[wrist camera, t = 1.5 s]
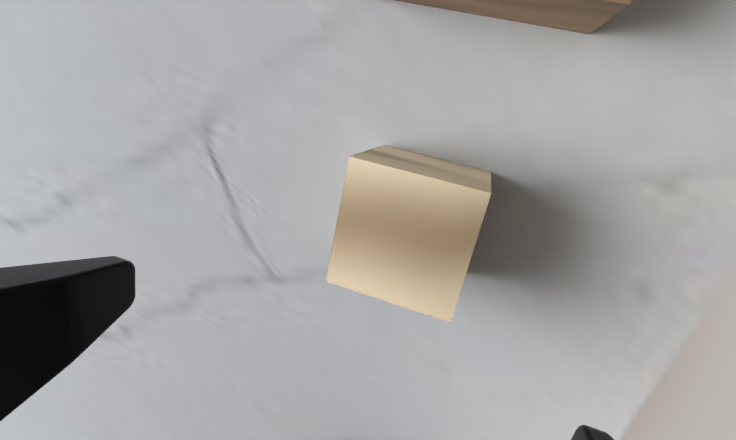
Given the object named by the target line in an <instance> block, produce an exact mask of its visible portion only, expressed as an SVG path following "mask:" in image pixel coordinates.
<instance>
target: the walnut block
mask: <svg viewBox="0 0 736 440" xmlns="http://www.w3.org/2000/svg"><path fill="white" fill-rule="evenodd" d="M396 1H402V2H408V3H413V4H419V5H425V6H430V7H436V8H442V9H448V10H453V11H459V12H465V13H470V14H476V15H482V16H488V17H493V18H499V19H505V20H510V21H516V22H522V23H528V24H533V25H539V26H545V27H550V28H556V29H562V30H568V31H573V32H579V33H585V34H591V33H592V32H594V31H595V30H596V29H598V28H599V27H600V26H602V25H603V24H605V23H606V22H607V21H609V20H610V19H611V18H613V17H614V16H615V15H617V14H618V13H619V12H621V11H622V10H624V9H625V8H626V7H628V6H629V5H630V4H631V1H632V0H396Z"/></svg>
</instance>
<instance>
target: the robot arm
mask: <svg viewBox="0 0 736 440" xmlns="http://www.w3.org/2000/svg"><path fill="white" fill-rule="evenodd" d="M134 298H135V267H134V265H133V263H132V262H130V261H128V260H125V259H122V258H119V257H115V256H110V257H100V258H91V259H81V260H71V261H62V262H52V263H43V264H33V265H23V266H14V267H4V268H0V421H1V420H2V419H4V418H5V417H6V416H7V415H9V414H10V413H11V412H12V411H13V410H15V409H16V408H17V407H18V406H20V405H21V404H22V403H23V402H24V401H26V400H27V399H28V398H29V397H31V396H32V395H33V394H34V393H35V392H37V391H38V390H39V389H40V388H42V387H43V386H44V385H45V384H47V383H48V382H49V381H50V380H51V379H53V378H54V377H55V376H56V375H58V374H59V373H60V372H61V371H62V370H64V369H65V368H66V367H67V366H68V365H69V364H71V363H72V362H73V361H74V360H75V359H76V358H77V357H78V356H79V355H80V354H82V353H83V352H84V351H85V350H86V349H87V348H88V347H89V346H90V345H91V344H92V343H93V342H94V341H95V340H96V339H97V338H98V337H99V336H100V335H101V334H102V333H103V332H104V331H106V330H107V329H108V328H109V327H110V326H111V325H112V324H113V323H114V322H115V321H116V320H117V319H118V318H119V317H120V316H121V315H122V314H123V313H124V312H125V311H126V310H127V309H128V308H129V307H130V306H131V305H132V303H133V301H134ZM571 440H614V439H613V438H612V437H611V436H610V435H609V434H607V433H606V432H603V431H600V430H598V429H595V428H592V427H589V426H586V425H582V426H579V427H578V428H577V430H576V431H575V433H574V435H573V437H572V439H571Z"/></svg>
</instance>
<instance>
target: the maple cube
mask: <svg viewBox="0 0 736 440" xmlns="http://www.w3.org/2000/svg"><path fill="white" fill-rule="evenodd" d="M490 196H491V172H489V171H485V170H481V169H477V168H473V167H469V166H465V165H461V164H457V163H453V162H449V161H445V160H441V159H437V158H433V157H429V156H425V155H421V154H417V153H413V152H409V151H405V150H401V149H397V148H393V147H389V146H385V145H382V146H379V147H376V148H373V149H370V150H367V151H364V152H361V153H358V154H355V155H352V156H349V161H348V166H347V172H346V177H345V182H344V187H343V193H342V198H341V203H340V208H339V214H338V219H337V224H336V229H335V235H334V240H333V245H332V250H331V256H330V261H329V266H328V271H327V276H326V281H327V282H330V283H333V284H336V285H339V286H342V287H345V288H348V289H351V290H354V291H357V292H360V293H363V294H366V295H369V296H372V297H375V298H378V299H381V300H384V301H387V302H390V303H393V304H396V305H399V306H402V307H405V308H408V309H411V310H414V311H417V312H420V313H423V314H426V315H429V316H432V317H435V318H438V319H441V320H444V321H447V322H450V323H451V321H452V317H453V314H454V311H455V308H456V305H457V301H458V298H459V295H460V292H461V289H462V285H463V282H464V279H465V276H466V273H467V270H468V266H469V263H470V260H471V257H472V254H473V250H474V247H475V244H476V241H477V238H478V234H479V231H480V228H481V225H482V222H483V219H484V215H485V212H486V209H487V206H488V203H489V199H490Z"/></svg>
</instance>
